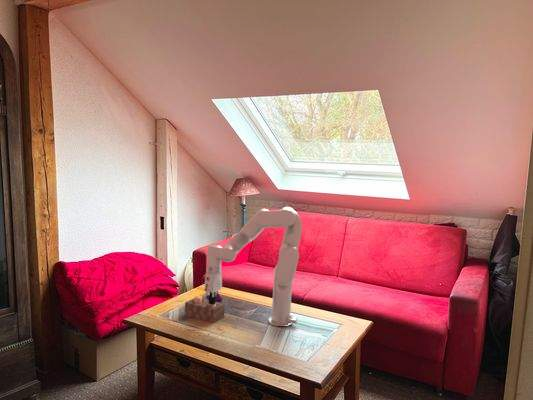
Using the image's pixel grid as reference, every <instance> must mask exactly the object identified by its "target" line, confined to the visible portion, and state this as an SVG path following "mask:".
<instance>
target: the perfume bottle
mask: <svg viewBox="0 0 533 400" xmlns="http://www.w3.org/2000/svg"><path fill="white" fill-rule="evenodd" d="M205 299H207V300H209V296H208V295H206V297H205ZM222 301H223V298H222V296H221V295H220V293H219V291H217V295H216V302H219V303H222Z"/></svg>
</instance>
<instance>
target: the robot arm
mask: <svg viewBox="0 0 533 400" xmlns="http://www.w3.org/2000/svg"><path fill="white" fill-rule="evenodd" d="M270 228H271V229H273V228H285V229H284V233H283V237H282V242H281V245H280V248H279V253H278V255H279V256H278V260H277V263H276V265H275V267H274V268H273V289H272V303H271V305H272V306H271V316H270V317H269V318H268V320H267V321H268V323H269V324H270V325H271V326H274V325H275V326H274V327H278V326H285V325H288V323H291V322H292V324H298V318H297V317H293V314H292V313H291V310H292V309H291V308H292V293H293V292H292V291H293V281H294V278H295V274H296V271H297V268H298V267H297V266H298V263H299V259H300V252H299V246H300V242H301V238H302V233H303V224H302V219H301V217H300V215H299V213H297V212H296V210H294V208H292V207H290V206H284V207H282V208H281V209H274V210H269V209H267V208H261V209H259V210H258V211H257V212H256V213H254V215H253V216H252V217H251V218H250V219H249V220H248V221H247V222H246V223H245V224H244V225H243V227H241V228H240V230H239V231H238V232H237V233H236V235H235V236H233V237H232V239H230V240H229V242H228V243H227V244H226V245H225V246H224V247H223V246H221V245H219V244H210V245H208V246H207V248H206V249H207V251H206V268H205V270H206V271H205V279H204V292H205V295H206V296H207V295H208V296H209V304H213V305H214V304H215V303H216V295H217V292H219V291H220V290H222V287H223V274H222V262H225V263H230V262H233V261H235V259H236V258H237V255H238V254H239V253H240V252H241V250H243V248H245V247H246V246H247V245H248V244H249V243H251V242H252V241H254V240H255V239H256V238H257V237H258V236H259V235H260V234H261V233H262V232H263V231H264V230H265V229H270Z"/></svg>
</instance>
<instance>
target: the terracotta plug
mask: <svg viewBox="0 0 533 400" xmlns="http://www.w3.org/2000/svg"><path fill="white" fill-rule="evenodd" d="M193 299H194V303H198V304H200V303H202V299H203V297H202V296H200V295H196V296H194V297H193Z"/></svg>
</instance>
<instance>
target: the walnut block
mask: <svg viewBox="0 0 533 400" xmlns="http://www.w3.org/2000/svg"><path fill="white" fill-rule="evenodd" d="M208 304H209V300H208V299H207V298H202V303H200V304H198V303H194V298H192V299H190V300H188V301H185V302H184V316H186V317H189V318H193V319H196V320H201V321H205V322H208V323H211V324H214V323H216V322H217V321H219V320H222V319H223V318H225V308H226V303H223V302H220V303H219V302H216V306H215V307H210V306H208Z"/></svg>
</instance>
